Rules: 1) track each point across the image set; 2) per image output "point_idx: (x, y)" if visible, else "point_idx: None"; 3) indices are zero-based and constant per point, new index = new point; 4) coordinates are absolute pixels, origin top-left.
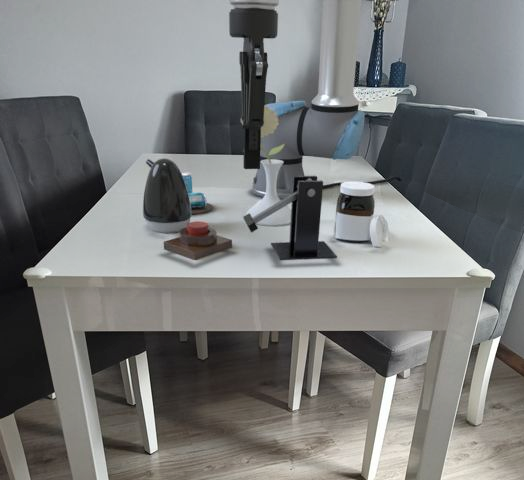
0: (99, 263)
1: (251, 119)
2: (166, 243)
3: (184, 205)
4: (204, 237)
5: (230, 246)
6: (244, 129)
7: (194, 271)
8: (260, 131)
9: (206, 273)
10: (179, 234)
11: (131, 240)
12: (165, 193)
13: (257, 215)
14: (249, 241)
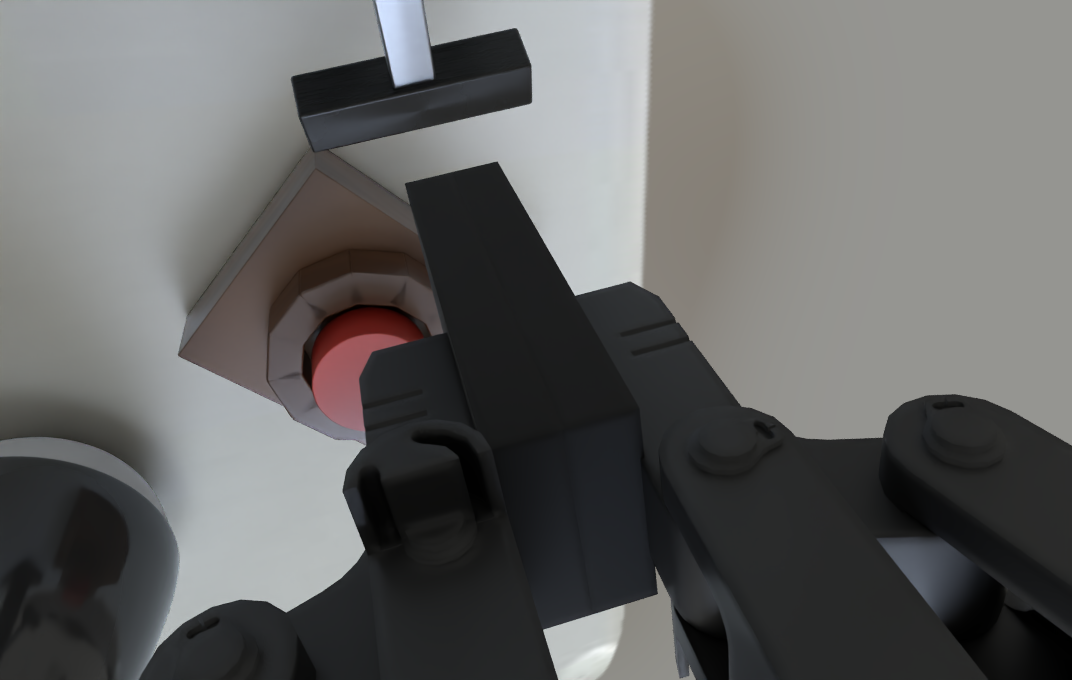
0: None
1: (1037, 612)
2: None
3: (61, 529)
4: None
5: (326, 163)
6: (603, 599)
7: (581, 274)
8: (621, 388)
9: (604, 223)
10: None
11: (234, 584)
12: (122, 659)
13: (409, 52)
14: (52, 51)
